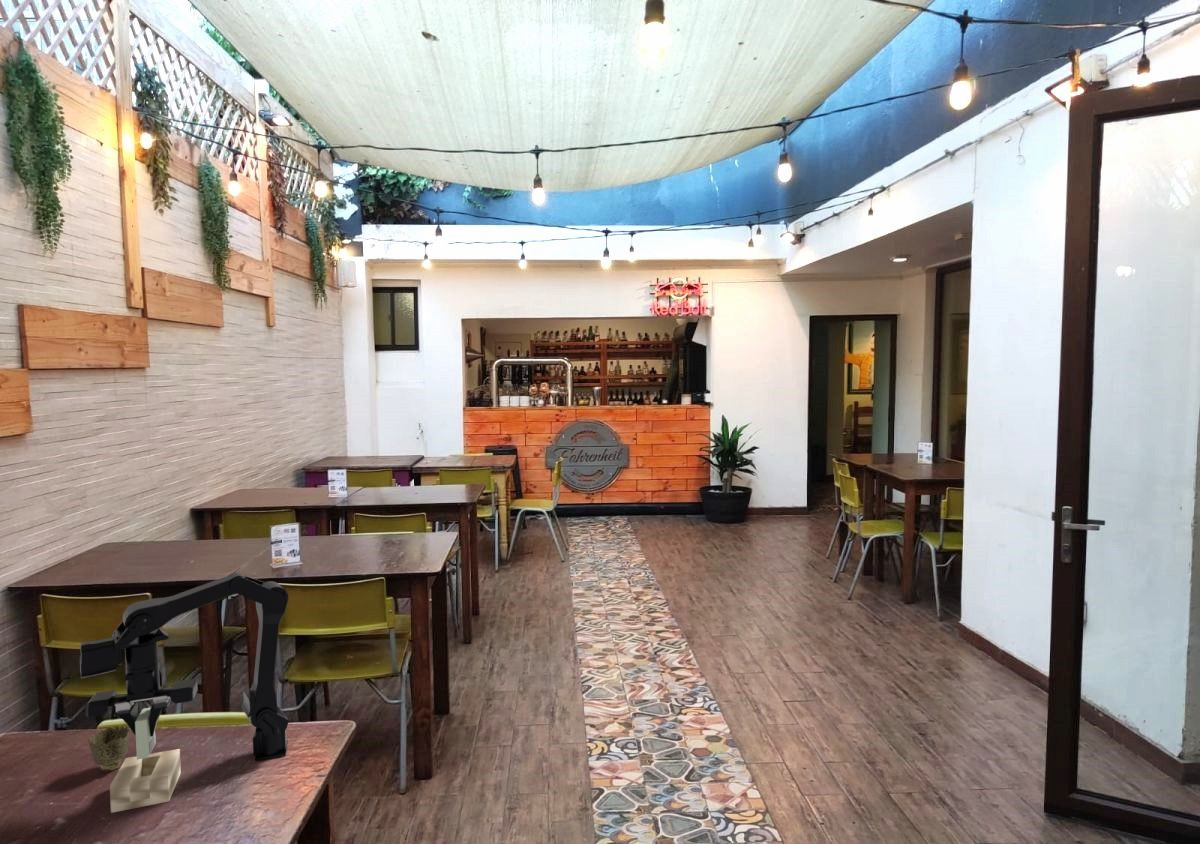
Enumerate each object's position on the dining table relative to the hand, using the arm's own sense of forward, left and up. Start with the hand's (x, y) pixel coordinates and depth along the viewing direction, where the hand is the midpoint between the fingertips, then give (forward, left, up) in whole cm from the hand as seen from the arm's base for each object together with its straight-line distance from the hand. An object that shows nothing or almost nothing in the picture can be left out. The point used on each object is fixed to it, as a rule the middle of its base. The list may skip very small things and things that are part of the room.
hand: (145, 736), depth 140 cm
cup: (+10, -13, -12) cm, 21 cm away
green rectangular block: (0, 0, -3) cm, 3 cm away
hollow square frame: (0, 0, -12) cm, 12 cm away
